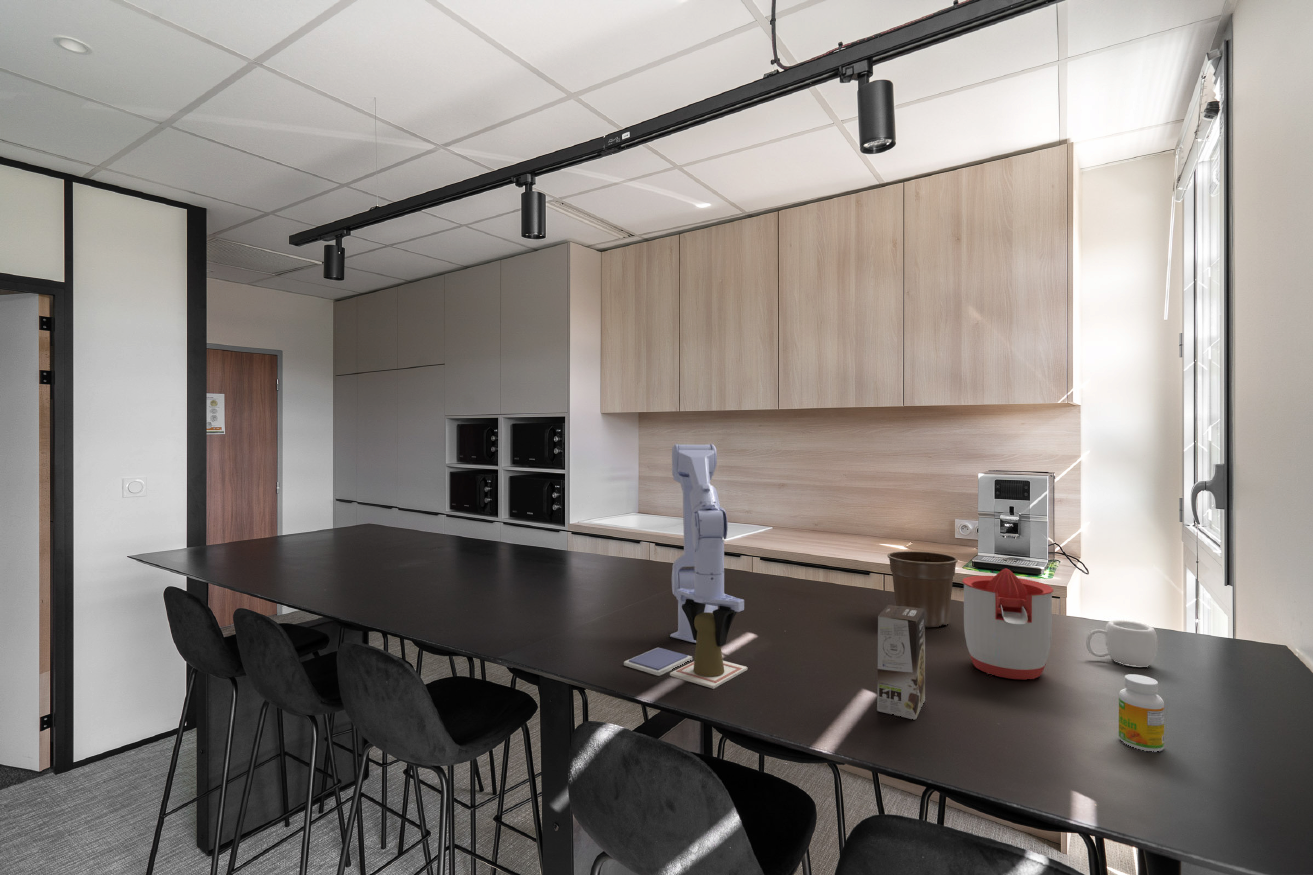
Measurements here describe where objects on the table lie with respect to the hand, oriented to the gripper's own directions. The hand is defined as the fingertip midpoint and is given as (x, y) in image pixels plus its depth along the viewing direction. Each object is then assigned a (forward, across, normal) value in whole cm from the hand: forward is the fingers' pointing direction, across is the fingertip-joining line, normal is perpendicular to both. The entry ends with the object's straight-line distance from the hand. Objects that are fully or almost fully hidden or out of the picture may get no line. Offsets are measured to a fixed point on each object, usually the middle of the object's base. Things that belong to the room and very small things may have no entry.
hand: (709, 641), depth 121 cm
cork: (+6, 0, -1) cm, 6 cm away
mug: (+6, +62, +57) cm, 84 cm away
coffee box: (+6, +34, +8) cm, 35 cm away
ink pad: (+6, -11, -2) cm, 13 cm away
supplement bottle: (+6, +66, +17) cm, 68 cm away
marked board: (+6, 0, 0) cm, 6 cm away
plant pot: (+6, +22, +62) cm, 66 cm away
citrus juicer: (+6, +45, +37) cm, 59 cm away
